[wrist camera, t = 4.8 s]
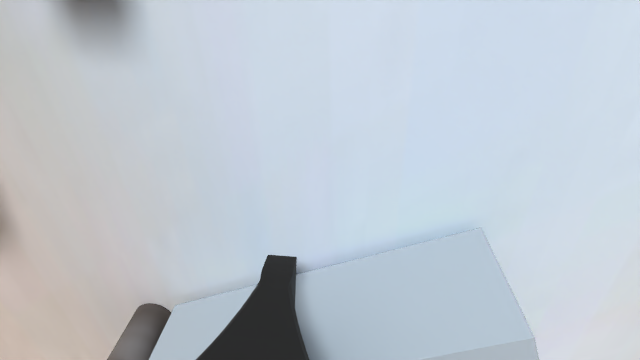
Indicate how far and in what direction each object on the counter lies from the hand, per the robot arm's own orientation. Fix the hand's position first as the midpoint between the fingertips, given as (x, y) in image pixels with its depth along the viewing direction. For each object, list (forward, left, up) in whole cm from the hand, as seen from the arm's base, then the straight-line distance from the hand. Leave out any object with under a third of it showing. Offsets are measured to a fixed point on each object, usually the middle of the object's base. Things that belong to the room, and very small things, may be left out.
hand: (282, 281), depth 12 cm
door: (-2, -1, -2) cm, 4 cm away
